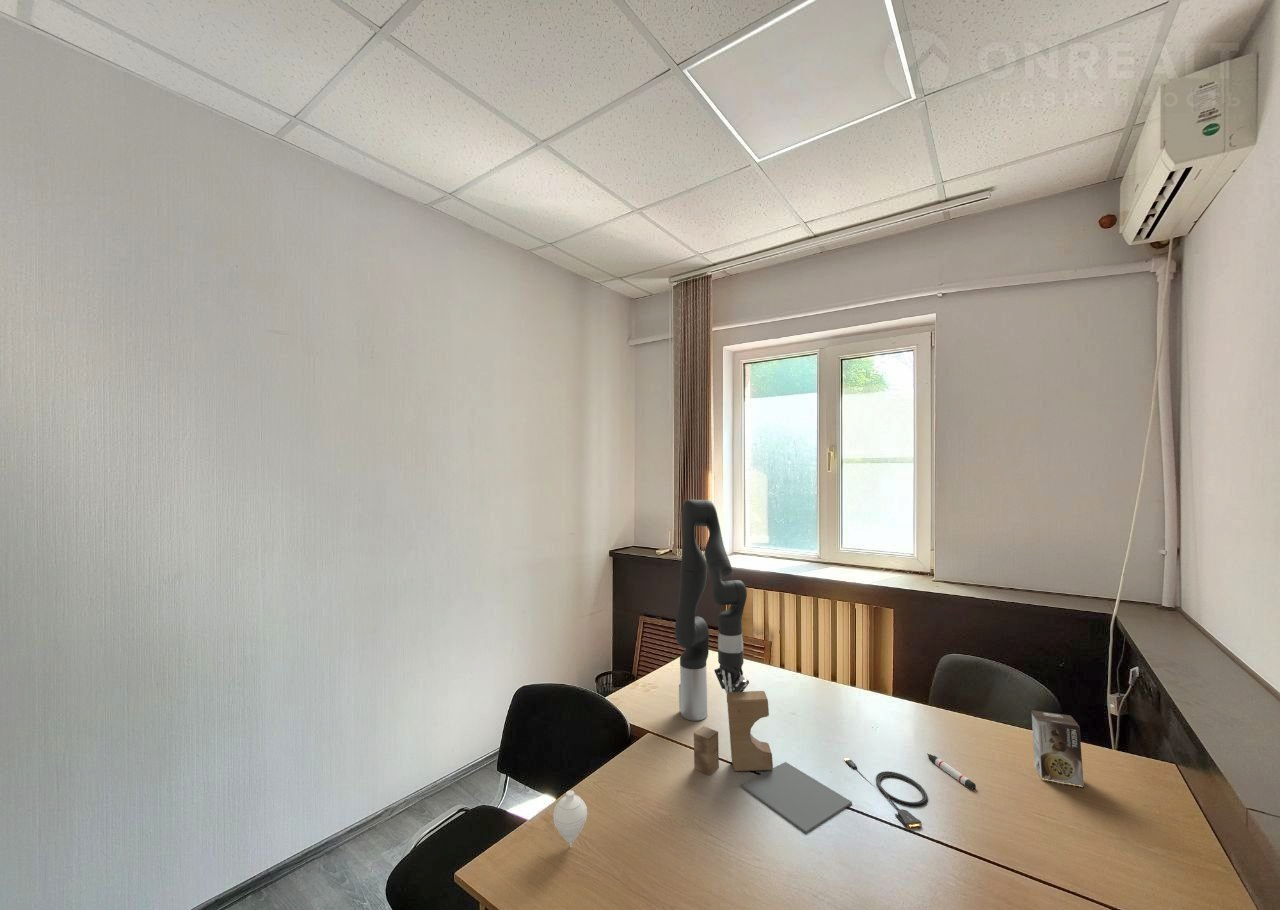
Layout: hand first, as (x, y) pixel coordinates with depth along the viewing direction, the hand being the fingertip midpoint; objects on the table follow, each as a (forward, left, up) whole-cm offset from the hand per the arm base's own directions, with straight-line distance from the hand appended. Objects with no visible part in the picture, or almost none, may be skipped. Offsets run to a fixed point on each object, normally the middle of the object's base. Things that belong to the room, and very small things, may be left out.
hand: (732, 706), depth 146 cm
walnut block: (+1, -11, -14) cm, 18 cm away
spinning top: (+6, -56, -14) cm, 58 cm away
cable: (+36, +24, -15) cm, 46 cm away
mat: (+23, 0, -14) cm, 27 cm away
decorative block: (+8, 0, -14) cm, 16 cm away
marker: (+40, +43, -15) cm, 61 cm away
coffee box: (+59, +64, -14) cm, 88 cm away
